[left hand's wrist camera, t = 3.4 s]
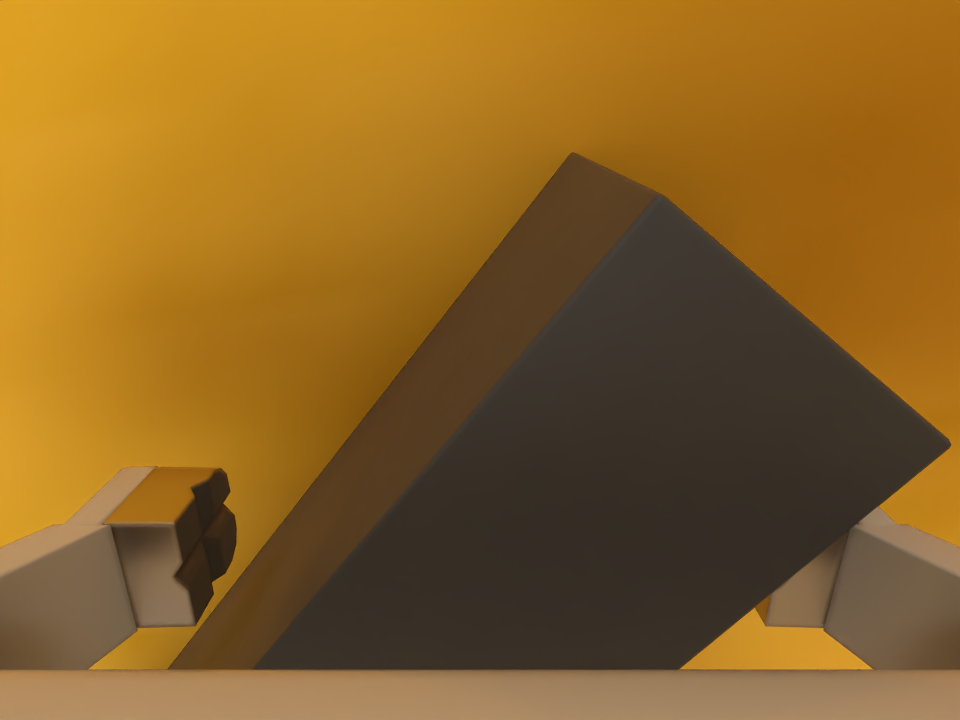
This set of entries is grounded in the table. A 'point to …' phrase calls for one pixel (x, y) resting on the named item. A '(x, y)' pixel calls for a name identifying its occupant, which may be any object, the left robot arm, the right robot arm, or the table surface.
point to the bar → (577, 463)
